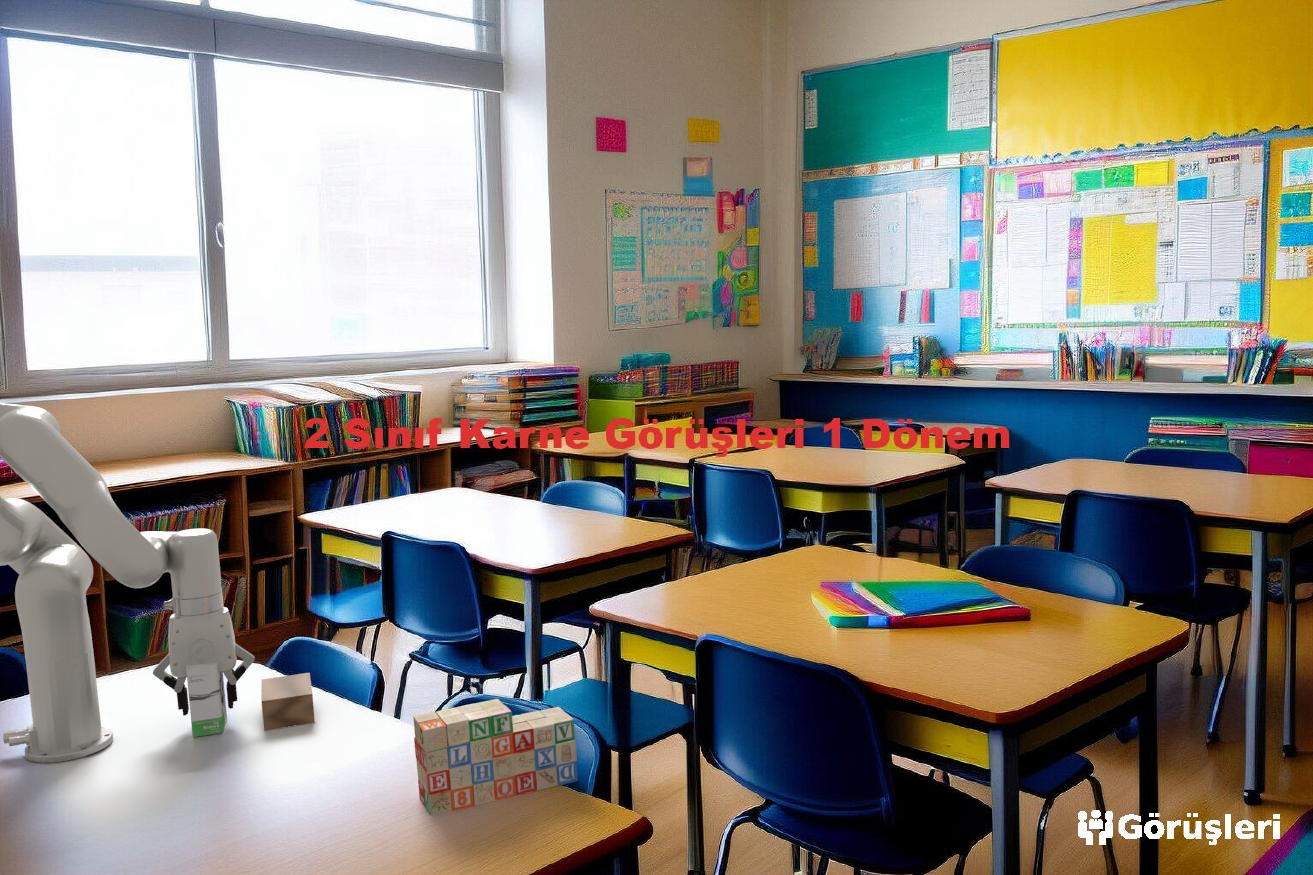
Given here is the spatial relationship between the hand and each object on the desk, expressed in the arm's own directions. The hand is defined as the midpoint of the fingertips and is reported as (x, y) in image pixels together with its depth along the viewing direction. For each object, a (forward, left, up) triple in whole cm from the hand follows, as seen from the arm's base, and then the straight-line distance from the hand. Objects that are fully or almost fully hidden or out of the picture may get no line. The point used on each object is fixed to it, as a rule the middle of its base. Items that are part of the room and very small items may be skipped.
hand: (208, 708), depth 186 cm
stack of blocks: (+40, -45, -4) cm, 60 cm away
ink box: (0, 0, -3) cm, 3 cm away
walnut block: (+12, 0, -3) cm, 13 cm away
